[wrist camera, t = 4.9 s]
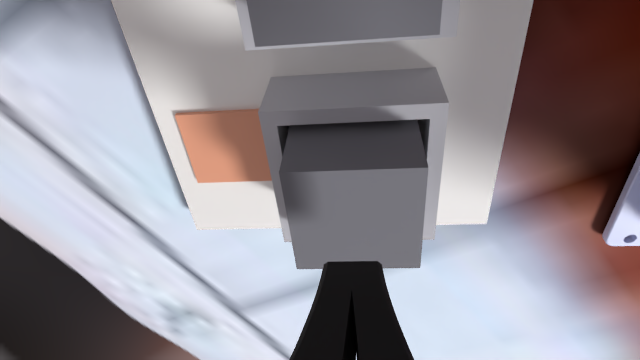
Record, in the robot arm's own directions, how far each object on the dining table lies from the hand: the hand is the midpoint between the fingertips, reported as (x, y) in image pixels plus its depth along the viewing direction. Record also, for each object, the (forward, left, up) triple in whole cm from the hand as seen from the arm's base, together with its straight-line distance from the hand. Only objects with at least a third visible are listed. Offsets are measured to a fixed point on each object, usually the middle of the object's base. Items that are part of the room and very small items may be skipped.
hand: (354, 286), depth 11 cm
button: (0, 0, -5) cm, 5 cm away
